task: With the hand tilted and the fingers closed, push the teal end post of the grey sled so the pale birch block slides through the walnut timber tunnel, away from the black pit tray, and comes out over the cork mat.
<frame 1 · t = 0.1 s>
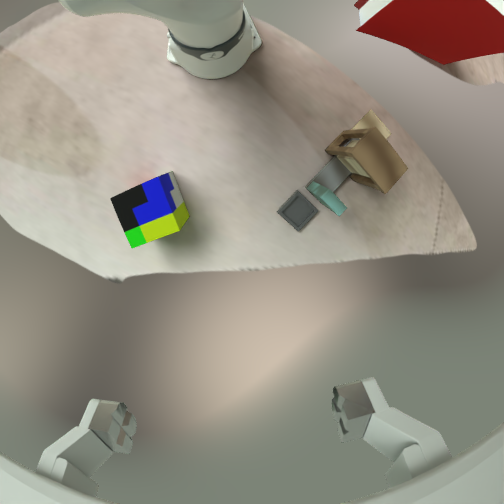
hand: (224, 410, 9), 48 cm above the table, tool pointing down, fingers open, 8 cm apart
book: (404, 35, 39), on the table
puzzle toy: (159, 202, 53), on the table
pit tray: (297, 210, 55), on the table
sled: (348, 171, 46), point 6 cm above the table, slide at 0.0 cm
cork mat: (371, 131, 49), on the table
tunnel: (348, 155, 51), on the table
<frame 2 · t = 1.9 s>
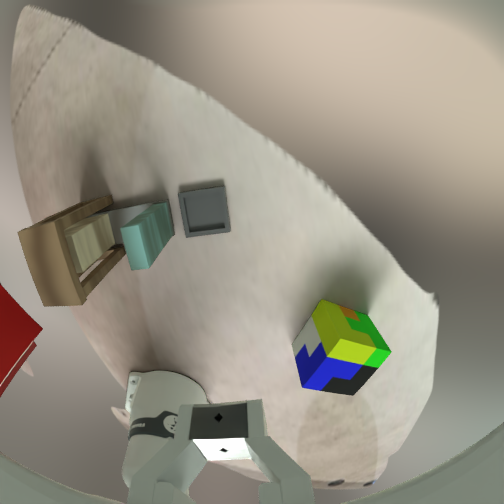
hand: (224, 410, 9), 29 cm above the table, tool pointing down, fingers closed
book: (1, 296, 40), on the table
puzzle toy: (330, 329, 44), on the table
pit tray: (205, 211, 35), on the table
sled: (103, 238, 30), point 6 cm above the table, slide at 0.0 cm
tunnel: (101, 228, 35), on the table
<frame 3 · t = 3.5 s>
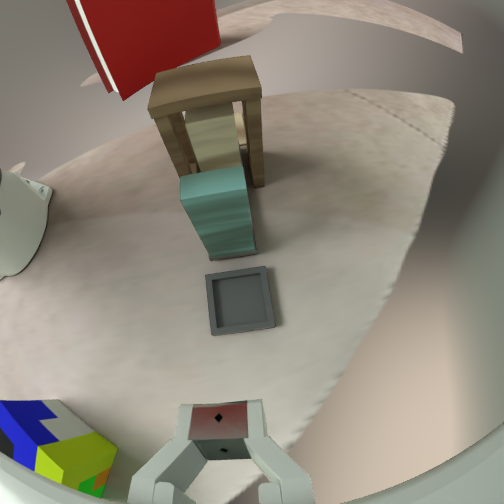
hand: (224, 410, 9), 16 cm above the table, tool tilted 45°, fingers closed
book: (167, 64, 47), on the table
puzzle toy: (78, 450, 20), on the table
pit tray: (239, 302, 27), on the table
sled: (218, 162, 25), point 6 cm above the table, slide at 0.0 cm
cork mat: (219, 131, 36), on the table
tunnel: (224, 173, 33), on the table
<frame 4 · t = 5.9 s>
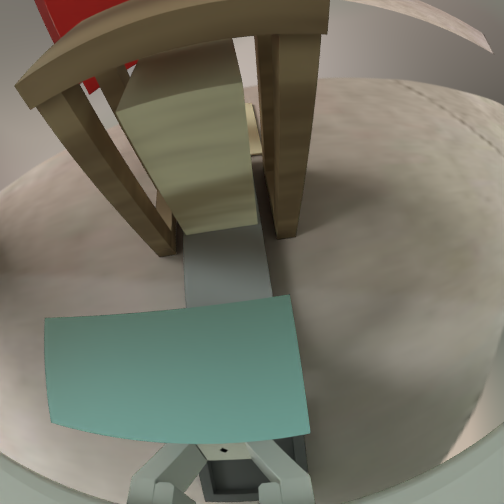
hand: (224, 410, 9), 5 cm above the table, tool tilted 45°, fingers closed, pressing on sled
book: (151, 47, 33), on the table
pit tray: (251, 454, 12), on the table
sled: (204, 201, 11), point 6 cm above the table, slide at 0.0 cm, touching gripper
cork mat: (216, 132, 22), on the table
tunnel: (222, 207, 19), on the table
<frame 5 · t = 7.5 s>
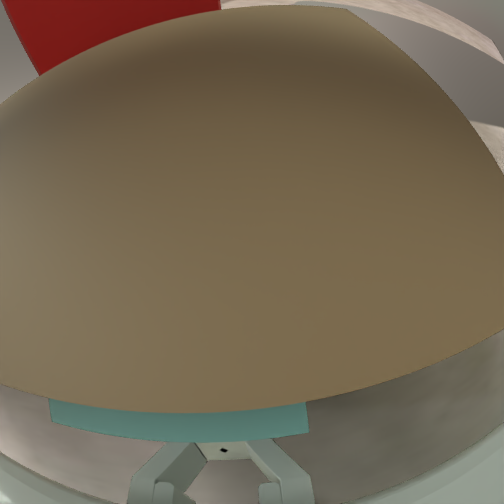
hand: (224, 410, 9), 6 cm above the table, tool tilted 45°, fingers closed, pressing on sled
book: (144, 64, 30), on the table
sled: (204, 201, 11), point 6 cm above the table, slide at 7.4 cm, touching gripper
tunnel: (232, 314, 16), on the table
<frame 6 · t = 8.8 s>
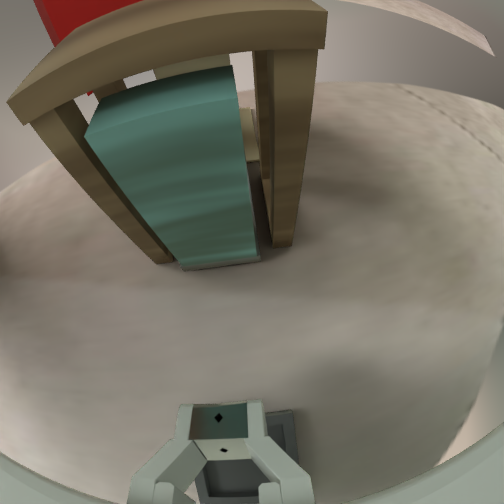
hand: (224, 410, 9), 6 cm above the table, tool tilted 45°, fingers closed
book: (151, 48, 33), on the table
pit tray: (245, 459, 12), on the table
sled: (199, 109, 14), point 6 cm above the table, slide at 7.5 cm
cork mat: (214, 137, 22), on the table
tunnel: (218, 215, 19), on the table
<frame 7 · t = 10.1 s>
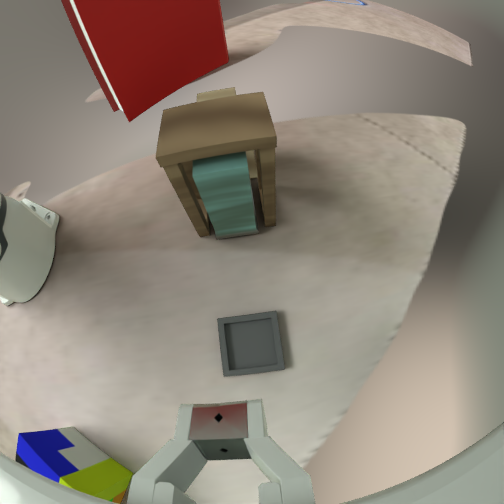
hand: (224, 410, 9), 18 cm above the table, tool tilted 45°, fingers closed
book: (174, 82, 48), on the table
puzzle toy: (93, 473, 20), on the table
pit tray: (251, 344, 27), on the table
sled: (224, 152, 29), point 6 cm above the table, slide at 7.5 cm
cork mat: (229, 162, 36), on the table
tunnel: (234, 209, 33), on the table
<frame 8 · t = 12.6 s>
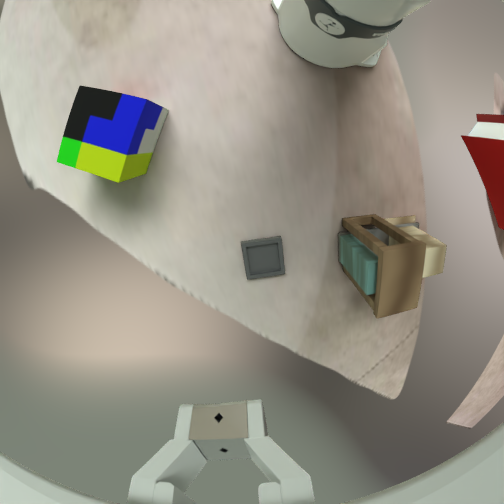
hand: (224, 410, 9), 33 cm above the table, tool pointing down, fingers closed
book: (492, 176, 38), on the table
puzzle toy: (128, 133, 35), on the table
pit tray: (263, 256, 42), on the table
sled: (397, 253, 36), point 6 cm above the table, slide at 7.5 cm
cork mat: (398, 236, 42), on the table
tunnel: (359, 242, 42), on the table
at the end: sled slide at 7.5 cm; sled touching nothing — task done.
